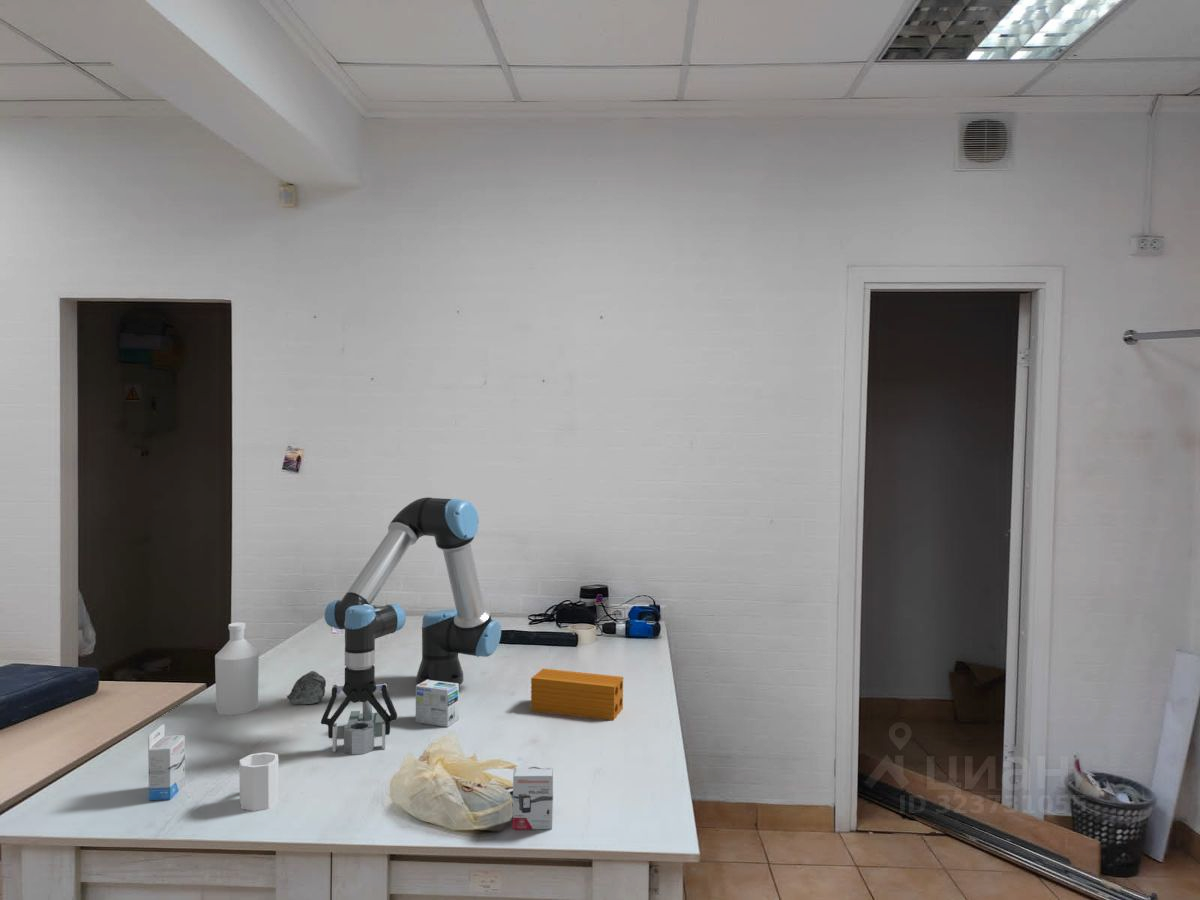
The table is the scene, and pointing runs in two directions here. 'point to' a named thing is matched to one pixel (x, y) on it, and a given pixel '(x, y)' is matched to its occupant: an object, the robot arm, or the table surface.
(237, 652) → the bottle
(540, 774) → the ink box
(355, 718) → the pillow block
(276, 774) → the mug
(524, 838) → the table surface
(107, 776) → the table surface
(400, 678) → the table surface
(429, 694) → the light bulb box
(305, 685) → the stone
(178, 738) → the ink box
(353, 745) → the hub
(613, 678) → the brick
